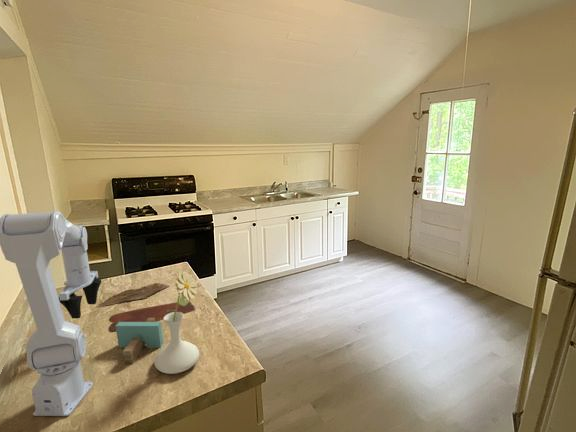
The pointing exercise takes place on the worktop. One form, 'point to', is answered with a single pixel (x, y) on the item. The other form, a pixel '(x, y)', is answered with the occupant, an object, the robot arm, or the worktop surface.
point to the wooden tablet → (148, 313)
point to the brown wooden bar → (134, 347)
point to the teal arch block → (140, 333)
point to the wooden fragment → (134, 294)
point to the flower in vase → (178, 332)
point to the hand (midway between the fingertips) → (84, 310)
